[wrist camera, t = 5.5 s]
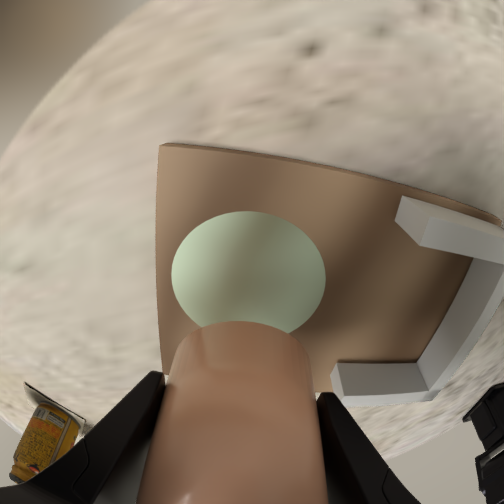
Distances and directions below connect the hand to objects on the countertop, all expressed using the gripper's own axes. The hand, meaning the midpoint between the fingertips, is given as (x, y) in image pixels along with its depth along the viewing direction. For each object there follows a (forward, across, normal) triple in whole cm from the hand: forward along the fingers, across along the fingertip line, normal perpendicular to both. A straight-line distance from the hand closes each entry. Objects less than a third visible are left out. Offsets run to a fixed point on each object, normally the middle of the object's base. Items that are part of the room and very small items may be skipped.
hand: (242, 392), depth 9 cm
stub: (+1, 0, +1) cm, 2 cm away
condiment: (+7, +21, +24) cm, 32 cm away
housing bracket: (+6, -9, 0) cm, 11 cm away
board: (+7, -4, +1) cm, 8 cm away
